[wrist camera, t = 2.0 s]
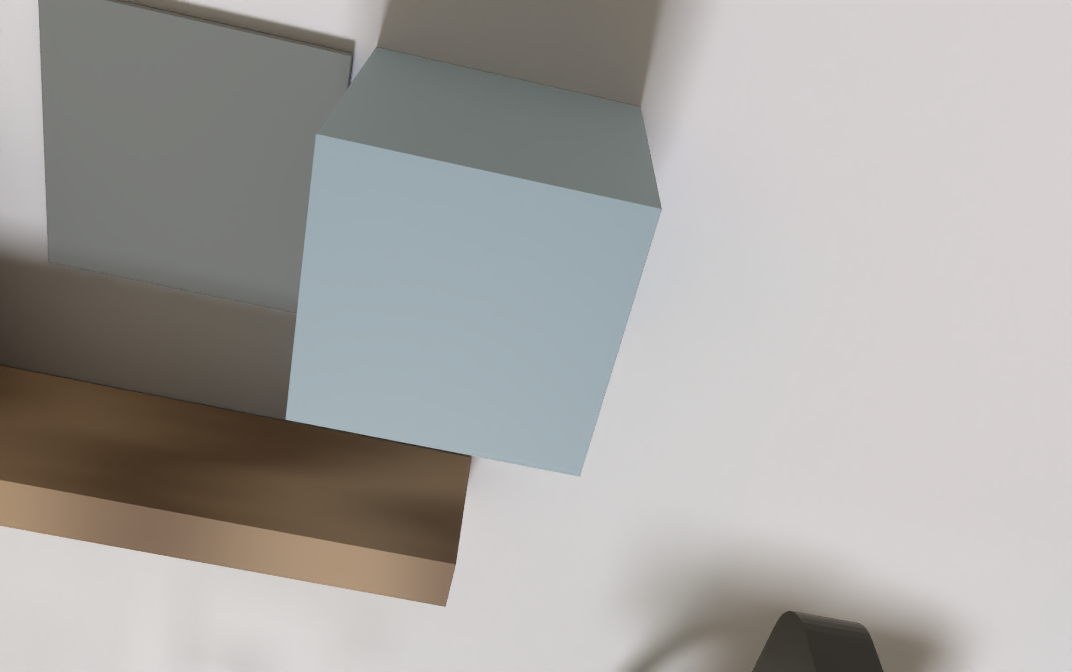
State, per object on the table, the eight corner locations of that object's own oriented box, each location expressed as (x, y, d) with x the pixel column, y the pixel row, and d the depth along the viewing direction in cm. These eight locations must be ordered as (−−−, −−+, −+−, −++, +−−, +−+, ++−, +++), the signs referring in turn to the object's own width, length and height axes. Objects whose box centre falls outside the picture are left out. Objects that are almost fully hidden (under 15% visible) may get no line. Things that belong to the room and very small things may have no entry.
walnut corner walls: (526, 224, 20) (517, 308, 16) (462, 496, 23) (445, 607, 20) (-102, 88, 19) (-234, 150, 16) (-67, 395, 22) (-168, 494, 19)
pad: (353, 53, 18) (351, 56, 18) (321, 312, 21) (319, 317, 21) (43, -18, 17) (37, -15, 17) (53, 257, 20) (48, 262, 20)
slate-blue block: (640, 105, 18) (661, 208, 14) (578, 329, 21) (579, 476, 17) (377, 46, 18) (315, 133, 14) (345, 282, 20) (285, 419, 16)
